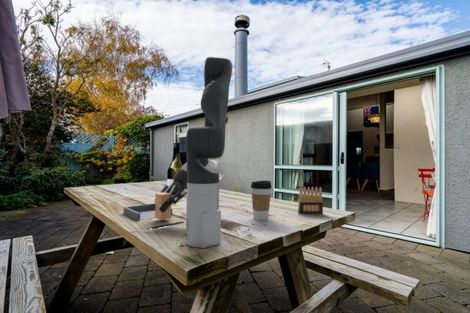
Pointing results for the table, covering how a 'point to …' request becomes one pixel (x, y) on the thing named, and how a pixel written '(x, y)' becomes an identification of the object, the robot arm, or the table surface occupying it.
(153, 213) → the grey square tray
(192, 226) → the robot arm
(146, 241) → the table surface
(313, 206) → the ammunition clip
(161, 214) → the block
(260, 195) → the coffee cup
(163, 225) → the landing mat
